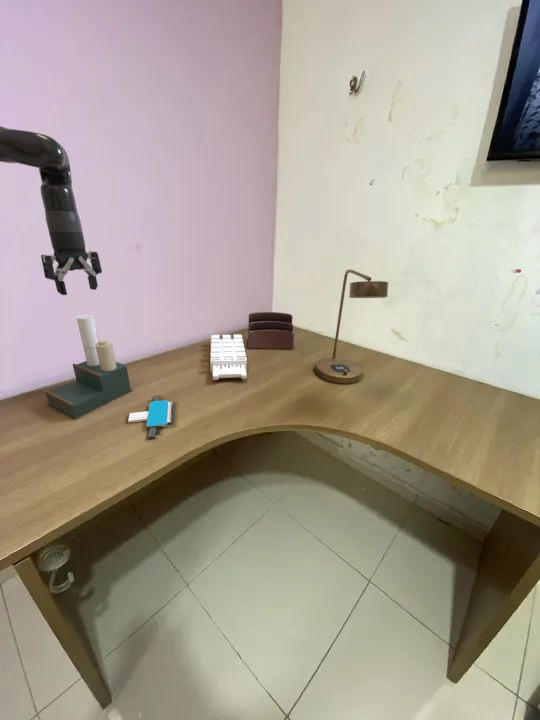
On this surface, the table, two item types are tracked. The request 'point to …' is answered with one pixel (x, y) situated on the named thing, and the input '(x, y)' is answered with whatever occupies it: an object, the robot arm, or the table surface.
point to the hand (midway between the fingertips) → (79, 291)
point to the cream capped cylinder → (105, 355)
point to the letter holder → (270, 330)
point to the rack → (89, 389)
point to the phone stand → (156, 416)
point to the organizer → (228, 357)
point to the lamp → (334, 366)
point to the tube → (88, 338)
